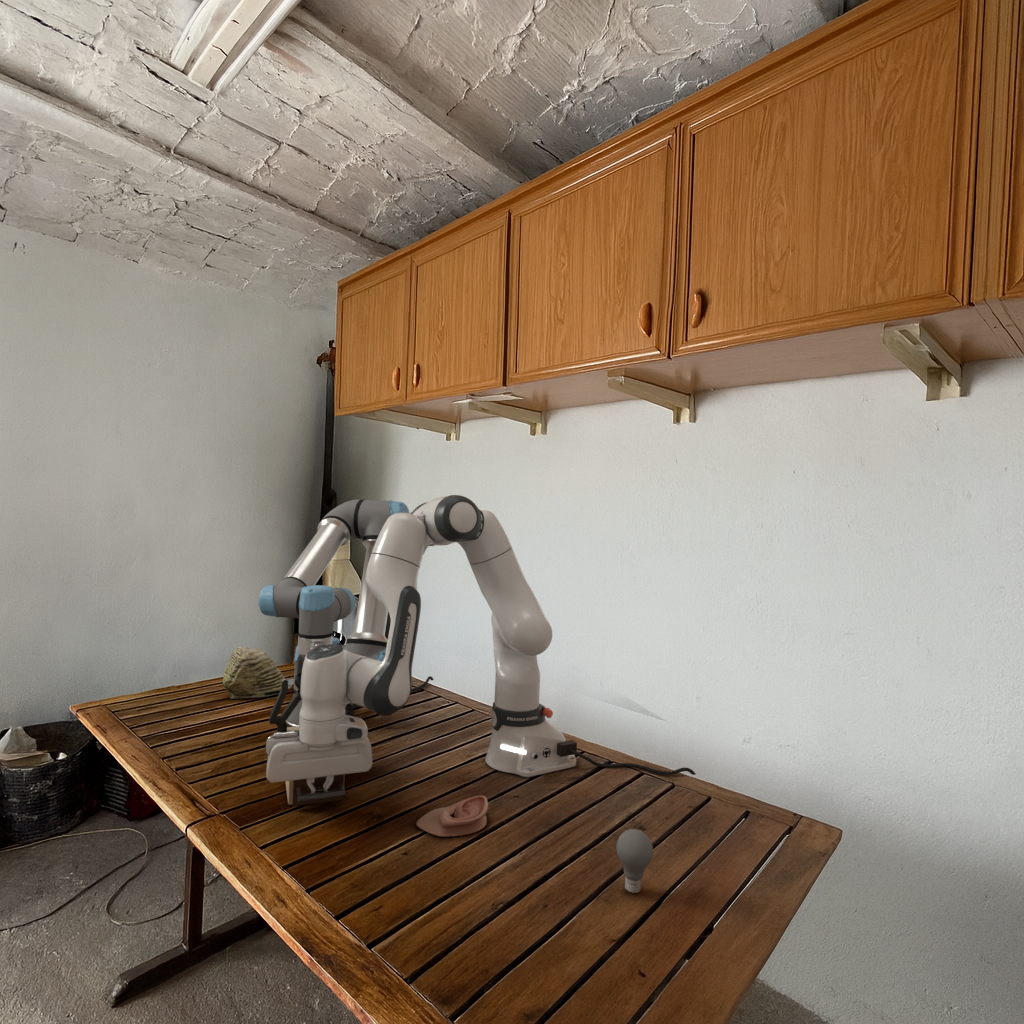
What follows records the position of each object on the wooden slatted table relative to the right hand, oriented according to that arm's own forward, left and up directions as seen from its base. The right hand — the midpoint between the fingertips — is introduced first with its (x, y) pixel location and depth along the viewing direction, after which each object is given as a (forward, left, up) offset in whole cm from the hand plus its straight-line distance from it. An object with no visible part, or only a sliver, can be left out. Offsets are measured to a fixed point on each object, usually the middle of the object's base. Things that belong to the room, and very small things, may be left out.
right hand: (319, 797), depth 126 cm
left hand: (+1, -19, +2) cm, 20 cm away
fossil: (+14, -82, -4) cm, 83 cm away
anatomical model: (-25, +11, -4) cm, 27 cm away
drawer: (0, -8, -3) cm, 8 cm away
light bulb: (-48, +40, -4) cm, 63 cm away
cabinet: (0, -14, -4) cm, 15 cm away
